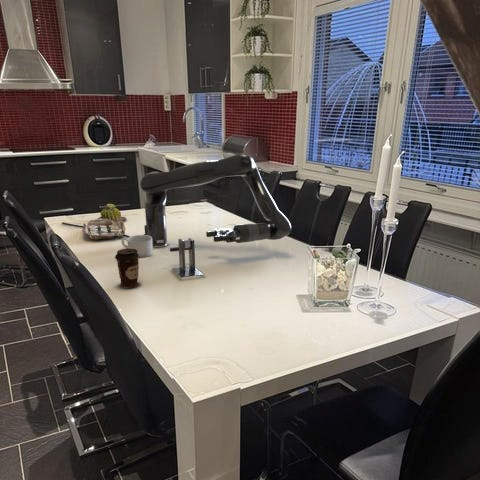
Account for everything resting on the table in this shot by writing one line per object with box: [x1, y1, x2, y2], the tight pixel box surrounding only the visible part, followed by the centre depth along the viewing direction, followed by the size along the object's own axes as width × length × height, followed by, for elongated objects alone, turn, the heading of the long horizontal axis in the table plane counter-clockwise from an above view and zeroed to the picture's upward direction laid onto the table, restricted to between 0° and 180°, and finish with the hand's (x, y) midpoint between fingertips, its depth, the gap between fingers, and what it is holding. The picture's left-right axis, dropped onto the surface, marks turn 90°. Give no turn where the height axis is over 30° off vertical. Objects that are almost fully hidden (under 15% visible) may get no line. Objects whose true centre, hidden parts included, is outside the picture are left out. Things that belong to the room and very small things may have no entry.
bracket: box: [172, 237, 204, 279], centre depth 180 cm, size 12×9×14 cm
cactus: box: [97, 203, 127, 223], centre depth 266 cm, size 17×16×10 cm
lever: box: [169, 239, 191, 253], centre depth 182 cm, size 12×8×2 cm, turn 24°
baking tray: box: [81, 218, 127, 241], centre depth 236 cm, size 30×22×5 cm
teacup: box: [120, 234, 154, 259], centre depth 203 cm, size 14×11×8 cm
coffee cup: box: [114, 248, 140, 289], centre depth 167 cm, size 9×8×13 cm
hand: (210, 236), depth 190 cm, fingers open, 8 cm apart
